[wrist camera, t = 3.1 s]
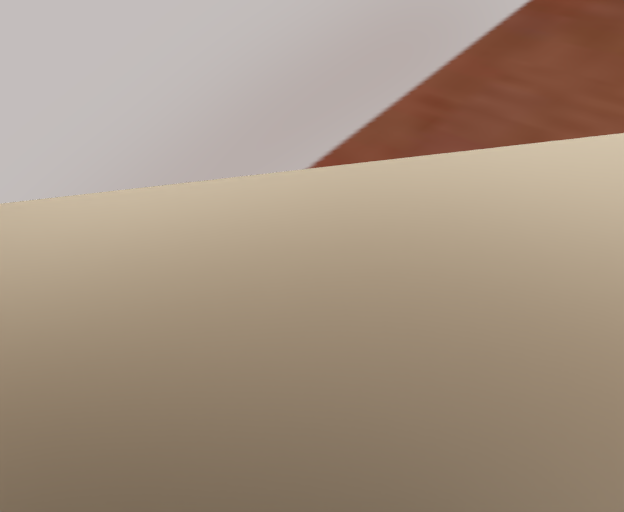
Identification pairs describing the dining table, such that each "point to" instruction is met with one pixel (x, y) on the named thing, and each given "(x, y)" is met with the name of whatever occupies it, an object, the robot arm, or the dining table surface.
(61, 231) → the birch pillar
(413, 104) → the dining table surface
